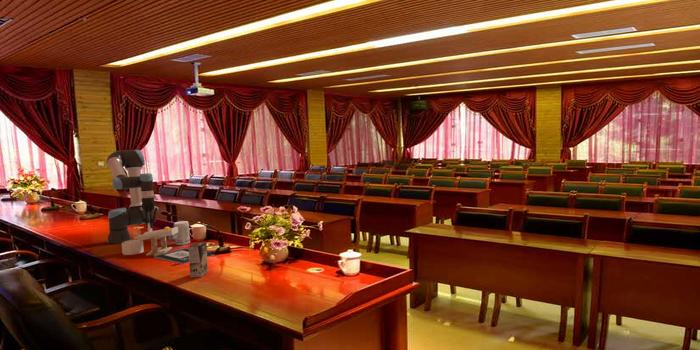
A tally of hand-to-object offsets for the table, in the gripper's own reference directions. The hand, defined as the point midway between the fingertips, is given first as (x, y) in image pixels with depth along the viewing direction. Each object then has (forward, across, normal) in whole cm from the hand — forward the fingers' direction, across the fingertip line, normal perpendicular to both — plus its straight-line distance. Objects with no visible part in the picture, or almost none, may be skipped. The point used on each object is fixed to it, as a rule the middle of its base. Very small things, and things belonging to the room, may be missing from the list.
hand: (150, 233), depth 301 cm
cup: (+10, -7, -10) cm, 16 cm away
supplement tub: (+11, +16, +12) cm, 23 cm away
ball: (-4, +16, -10) cm, 19 cm away
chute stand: (+10, +10, -10) cm, 17 cm away
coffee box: (+11, +54, -62) cm, 83 cm away
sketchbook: (+11, +30, -23) cm, 40 cm away
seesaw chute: (+3, +10, -6) cm, 12 cm away
